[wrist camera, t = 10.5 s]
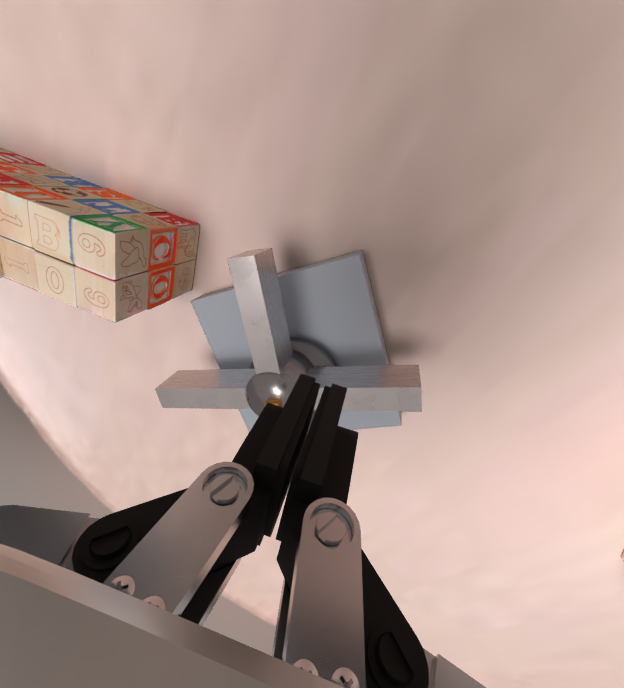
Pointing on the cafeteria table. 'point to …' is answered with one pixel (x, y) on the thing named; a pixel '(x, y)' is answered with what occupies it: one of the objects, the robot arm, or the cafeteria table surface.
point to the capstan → (284, 359)
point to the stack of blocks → (90, 242)
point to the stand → (309, 324)
